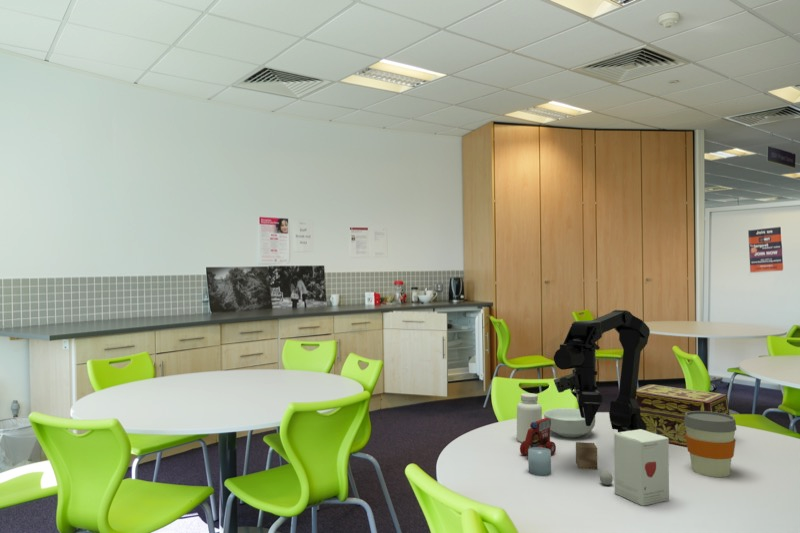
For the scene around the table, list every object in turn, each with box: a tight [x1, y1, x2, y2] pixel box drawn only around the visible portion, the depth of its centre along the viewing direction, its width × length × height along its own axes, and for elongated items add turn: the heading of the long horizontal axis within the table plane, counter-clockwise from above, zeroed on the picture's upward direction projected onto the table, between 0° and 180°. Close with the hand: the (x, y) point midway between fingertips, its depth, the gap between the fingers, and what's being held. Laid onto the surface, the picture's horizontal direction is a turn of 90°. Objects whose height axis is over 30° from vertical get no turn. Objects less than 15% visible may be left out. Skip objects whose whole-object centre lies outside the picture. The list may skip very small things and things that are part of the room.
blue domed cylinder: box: [527, 447, 552, 477], centre depth 154 cm, size 6×6×6 cm
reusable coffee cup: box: [684, 411, 737, 478], centre depth 153 cm, size 12×13×15 cm
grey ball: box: [599, 470, 614, 486], centre depth 144 cm, size 3×3×3 cm
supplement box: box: [613, 429, 670, 507], centre depth 136 cm, size 9×9×15 cm
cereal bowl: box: [543, 407, 596, 438], centre depth 190 cm, size 17×17×7 cm
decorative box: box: [636, 383, 731, 448], centre depth 186 cm, size 28×19×15 cm
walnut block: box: [575, 441, 598, 471], centre depth 158 cm, size 5×5×6 cm
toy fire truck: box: [519, 417, 557, 457], centre depth 169 cm, size 7×12×10 cm, turn 133°
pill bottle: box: [516, 392, 543, 443], centre depth 183 cm, size 8×8×15 cm
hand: (585, 421), depth 159 cm, fingers open, 9 cm apart
